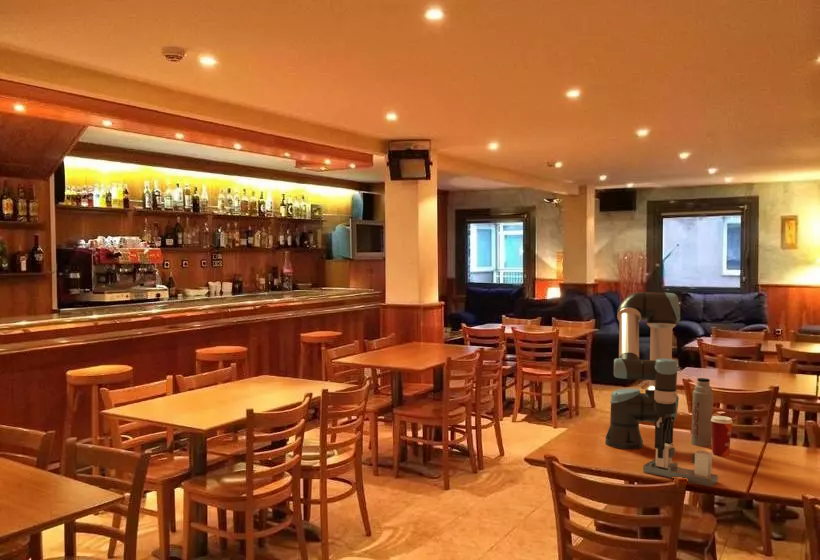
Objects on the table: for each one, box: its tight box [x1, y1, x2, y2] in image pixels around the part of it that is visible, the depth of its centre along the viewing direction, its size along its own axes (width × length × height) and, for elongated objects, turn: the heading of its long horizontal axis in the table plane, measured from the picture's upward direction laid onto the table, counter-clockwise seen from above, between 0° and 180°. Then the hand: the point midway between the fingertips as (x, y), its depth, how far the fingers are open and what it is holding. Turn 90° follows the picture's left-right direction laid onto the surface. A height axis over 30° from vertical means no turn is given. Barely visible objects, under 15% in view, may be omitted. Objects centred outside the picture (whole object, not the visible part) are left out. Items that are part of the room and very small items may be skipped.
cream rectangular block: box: [655, 443, 676, 468], centre depth 255 cm, size 6×4×8 cm
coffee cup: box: [711, 415, 734, 458], centre depth 281 cm, size 8×8×15 cm
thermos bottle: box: [690, 377, 714, 448], centre depth 296 cm, size 8×8×28 cm
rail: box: [642, 449, 719, 488], centre depth 251 cm, size 24×7×10 cm, turn 50°
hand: (663, 464), depth 255 cm, fingers closed on cream rectangular block, 4 cm apart
